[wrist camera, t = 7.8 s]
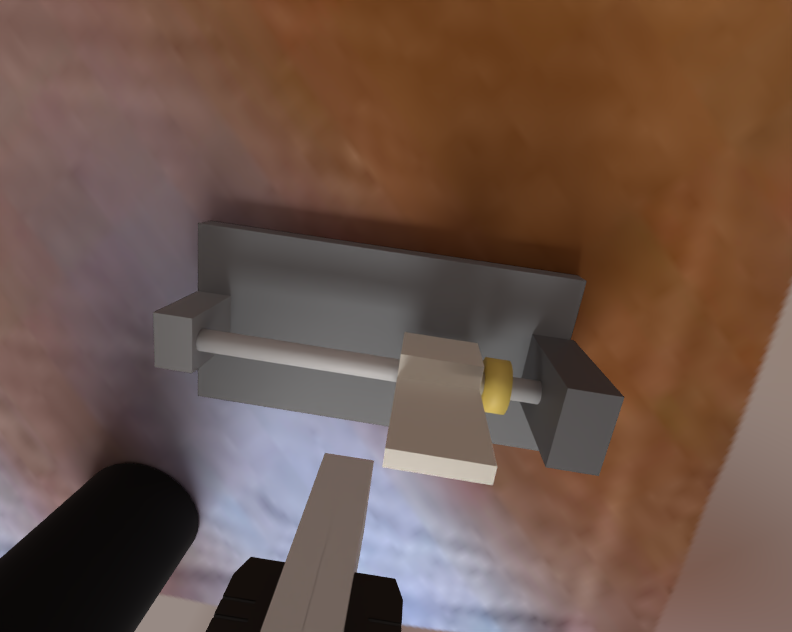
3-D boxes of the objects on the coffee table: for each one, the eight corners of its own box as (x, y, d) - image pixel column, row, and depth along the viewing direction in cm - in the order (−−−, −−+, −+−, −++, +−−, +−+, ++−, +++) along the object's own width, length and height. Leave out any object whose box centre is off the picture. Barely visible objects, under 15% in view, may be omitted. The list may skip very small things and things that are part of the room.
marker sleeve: (396, 384, 25) (378, 494, 16) (404, 331, 24) (389, 418, 15) (466, 395, 25) (485, 512, 16) (477, 343, 24) (504, 437, 15)
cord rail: (208, 385, 30) (126, 461, 22) (210, 220, 27) (114, 239, 19) (537, 438, 29) (578, 537, 21) (581, 275, 26) (649, 319, 18)
